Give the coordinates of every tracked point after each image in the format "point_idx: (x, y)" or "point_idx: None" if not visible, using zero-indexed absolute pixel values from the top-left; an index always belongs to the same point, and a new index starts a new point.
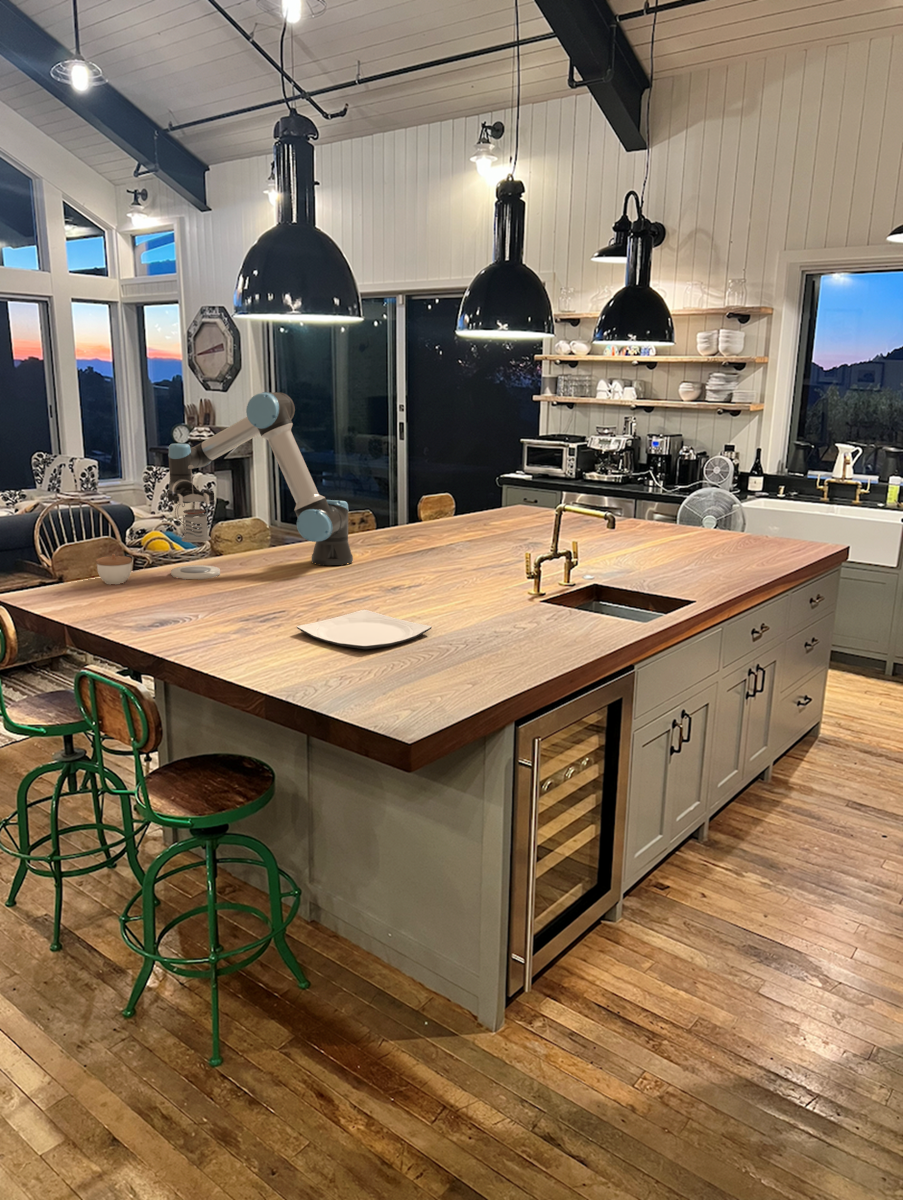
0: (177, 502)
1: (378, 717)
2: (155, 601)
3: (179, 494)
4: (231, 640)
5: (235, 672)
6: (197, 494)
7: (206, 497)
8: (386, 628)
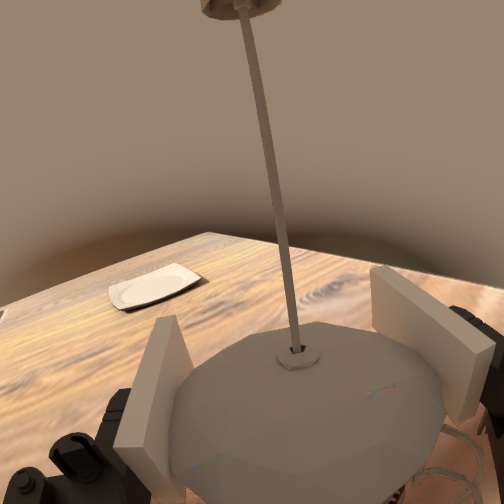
0: (480, 425)
1: (208, 237)
2: None
3: (450, 322)
4: (259, 272)
5: (261, 247)
6: (242, 387)
7: (177, 339)
8: (129, 296)
